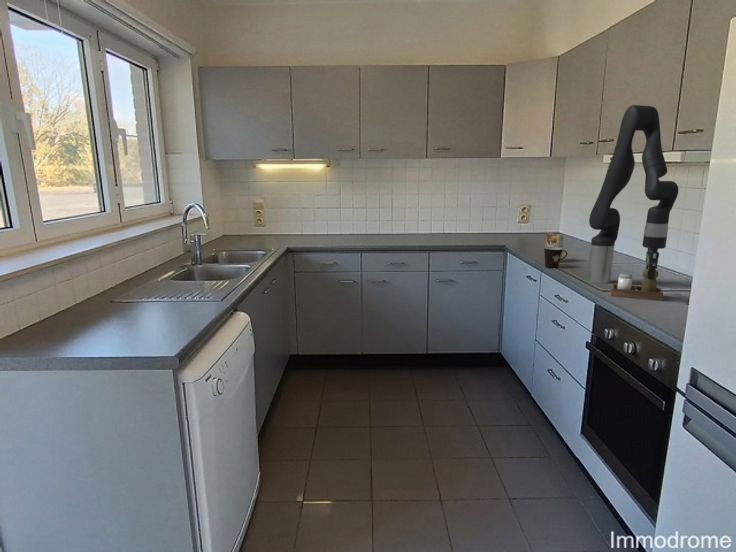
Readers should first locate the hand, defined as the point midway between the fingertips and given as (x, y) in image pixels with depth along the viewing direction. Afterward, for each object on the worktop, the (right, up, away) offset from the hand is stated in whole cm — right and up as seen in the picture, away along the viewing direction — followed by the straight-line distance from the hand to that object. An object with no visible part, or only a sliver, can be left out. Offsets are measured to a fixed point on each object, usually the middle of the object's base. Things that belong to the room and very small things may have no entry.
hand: (649, 276), depth 177 cm
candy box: (-6, +8, +78) cm, 79 cm away
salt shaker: (-7, -7, +5) cm, 11 cm away
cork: (0, -8, +2) cm, 8 cm away
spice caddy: (-3, -8, +4) cm, 10 cm away
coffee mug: (-11, +5, +62) cm, 64 cm away
